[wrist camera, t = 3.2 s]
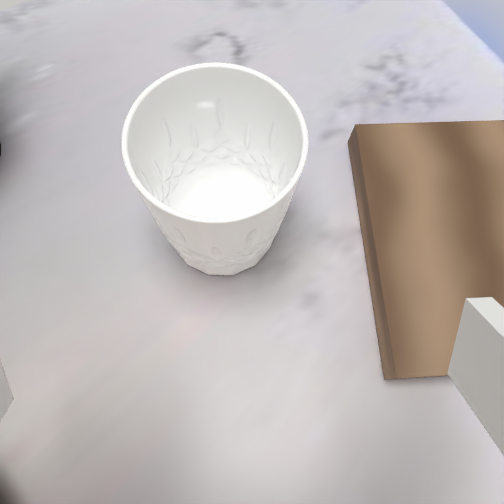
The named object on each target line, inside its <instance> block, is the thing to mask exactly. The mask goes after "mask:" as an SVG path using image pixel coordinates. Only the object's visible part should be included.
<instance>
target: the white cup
mask: <svg viewBox="0 0 504 504" xmlns="http://www.w3.org/2000/svg"><path fill="white" fill-rule="evenodd" d="M121 149H122V156H123V161H124V164H125V167H126V170H127V172H128V174H129V176H130V178H131V180H132V182H133V183H134V185H135V187H136V188H137V190H138V192H139V193H140V195H141V197H142V198H143V200H144V202H145V204H146V205H147V207H148V209H149V211H150V212H151V214H152V216H153V218H154V219H155V221H156V223H157V224H158V226H159V228H160V229H161V231H162V232H163V234H164V235H165V236H166V238H167V239H168V241H169V242H170V244H171V245H172V246H173V247H174V248H175V249H176V251H177V252H178V253H179V255H180V256H181V257H182V259H183V260H184V261H185V263H186V264H187V265H189V266H192V267H194V268H196V269H198V270H200V271H202V272H204V273H206V274H208V275H235V274H237V273H239V272H241V271H244V270H246V269H248V268H251V267H253V266H255V265H256V264H257V263H258V261H259V260H260V259H261V258H262V257H263V256H264V254H265V253H266V252H267V251H268V250H269V249H270V247H271V244H272V241H273V239H274V237H275V236H276V234H277V232H278V230H279V228H280V226H281V223H282V221H283V219H284V217H285V215H286V212H287V210H288V207H289V205H290V202H291V200H292V197H293V194H294V192H295V189H296V186H297V184H298V181H299V179H300V176H301V174H302V171H303V169H304V166H305V163H306V159H307V154H308V132H307V127H306V123H305V120H304V117H303V115H302V113H301V111H300V109H299V107H298V105H297V104H296V102H295V101H294V99H293V98H292V97H291V96H290V94H289V93H288V92H287V91H286V90H285V89H284V88H283V87H282V86H280V85H279V84H278V83H277V82H275V81H274V80H272V79H271V78H269V77H268V76H266V75H264V74H262V73H260V72H258V71H255V70H253V69H250V68H247V67H244V66H240V65H235V64H229V63H201V64H195V65H190V66H186V67H183V68H180V69H177V70H175V71H172V72H170V73H168V74H166V75H164V76H163V77H161V78H159V79H158V80H156V81H155V82H153V83H152V84H151V85H150V86H149V87H147V88H146V89H145V90H144V91H143V92H142V93H141V94H140V96H139V97H138V98H137V99H136V101H135V102H134V104H133V105H132V107H131V108H130V110H129V112H128V114H127V117H126V119H125V122H124V126H123V130H122V138H121Z"/></svg>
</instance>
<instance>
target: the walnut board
mask: <svg viewBox="0 0 504 504" xmlns="http://www.w3.org/2000/svg"><path fill="white" fill-rule="evenodd" d="M348 146H349V153H350V159H351V166H352V172H353V179H354V186H355V192H356V199H357V205H358V212H359V218H360V225H361V231H362V238H363V244H364V251H365V257H366V264H367V270H368V277H369V283H370V290H371V296H372V303H373V309H374V316H375V323H376V329H377V336H378V342H379V349H380V355H381V362H382V368H383V375H384V380H386V379H402V378H419V377H435V376H449V375H448V374H447V373H448V369H449V365H450V361H451V356H452V352H453V348H454V344H455V340H456V336H457V332H458V328H459V324H460V320H461V315H462V311H463V307H464V303H465V299H466V298H482V297H492V298H494V299H495V300H496V301H497V302H498V303H499V304H500V305H501V306H502V307H503V308H504V120H497V121H461V122H426V123H390V124H355V127H354V129H353V131H352V133H351V136H350V138H349V140H348Z"/></svg>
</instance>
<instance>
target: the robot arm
mask: <svg viewBox="0 0 504 504" xmlns="http://www.w3.org/2000/svg"><path fill="white" fill-rule="evenodd" d="M447 374H448V375H449V377H450V378H451V380H452V381H453V383H454V384H455V386H456V387H457V389H458V390H459V391H460V393H461V394H462V396H463V397H464V399H465V400H466V402H467V403H468V404H469V406H470V407H471V409H472V410H473V412H474V413H475V415H476V416H477V418H478V419H479V420H480V422H481V423H482V425H483V426H484V428H485V429H486V431H487V432H488V434H489V435H490V436H491V438H492V439H493V441H494V442H495V444H496V445H497V447H498V448H499V450H500V451H501V452H502V454H503V455H504V308H503V307H502V306H501V305H500V304H499V303H498V302H497V301H496V300H495V299H494V298H492V297H482V298H466V299H465V303H464V307H463V311H462V315H461V320H460V324H459V328H458V332H457V336H456V340H455V344H454V348H453V352H452V356H451V361H450V365H449V369H448V373H447ZM13 399H14V398H13V395H12V392H11V389H10V387H9V384H8V381H7V378H6V375H5V372H4V369H3V366H2V364H1V361H0V421H1V419H2V418H3V416H4V414H5V413H6V411H7V409H8V407H9V406H10V404H11V402H12V401H13Z"/></svg>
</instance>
